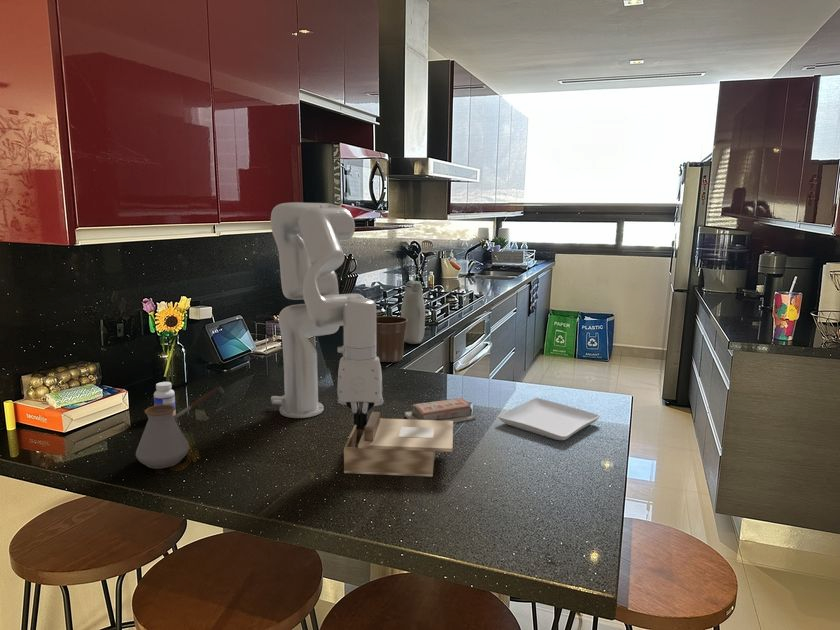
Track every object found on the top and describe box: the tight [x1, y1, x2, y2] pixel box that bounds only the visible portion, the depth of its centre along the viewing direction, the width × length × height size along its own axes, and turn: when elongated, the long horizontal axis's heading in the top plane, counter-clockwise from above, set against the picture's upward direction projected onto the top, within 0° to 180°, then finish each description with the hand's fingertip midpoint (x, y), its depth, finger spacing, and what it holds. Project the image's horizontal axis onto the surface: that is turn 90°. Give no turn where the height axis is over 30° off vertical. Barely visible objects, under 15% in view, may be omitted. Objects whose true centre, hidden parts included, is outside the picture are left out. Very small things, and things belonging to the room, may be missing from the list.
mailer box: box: [343, 421, 436, 477], centre depth 136 cm, size 20×16×6 cm
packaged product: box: [404, 397, 476, 424], centre depth 163 cm, size 18×5×10 cm
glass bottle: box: [400, 280, 426, 345], centre depth 249 cm, size 10×10×28 cm
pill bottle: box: [153, 381, 177, 416], centre depth 161 cm, size 5×5×10 cm
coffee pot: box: [135, 386, 225, 469], centre depth 136 cm, size 21×12×15 cm, turn 137°
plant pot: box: [376, 315, 408, 363], centre depth 224 cm, size 16×16×16 cm
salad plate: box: [497, 397, 601, 441], centre depth 159 cm, size 21×21×3 cm
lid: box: [358, 411, 454, 453], centre depth 134 cm, size 21×17×3 cm
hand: (360, 427), depth 135 cm, fingers closed
